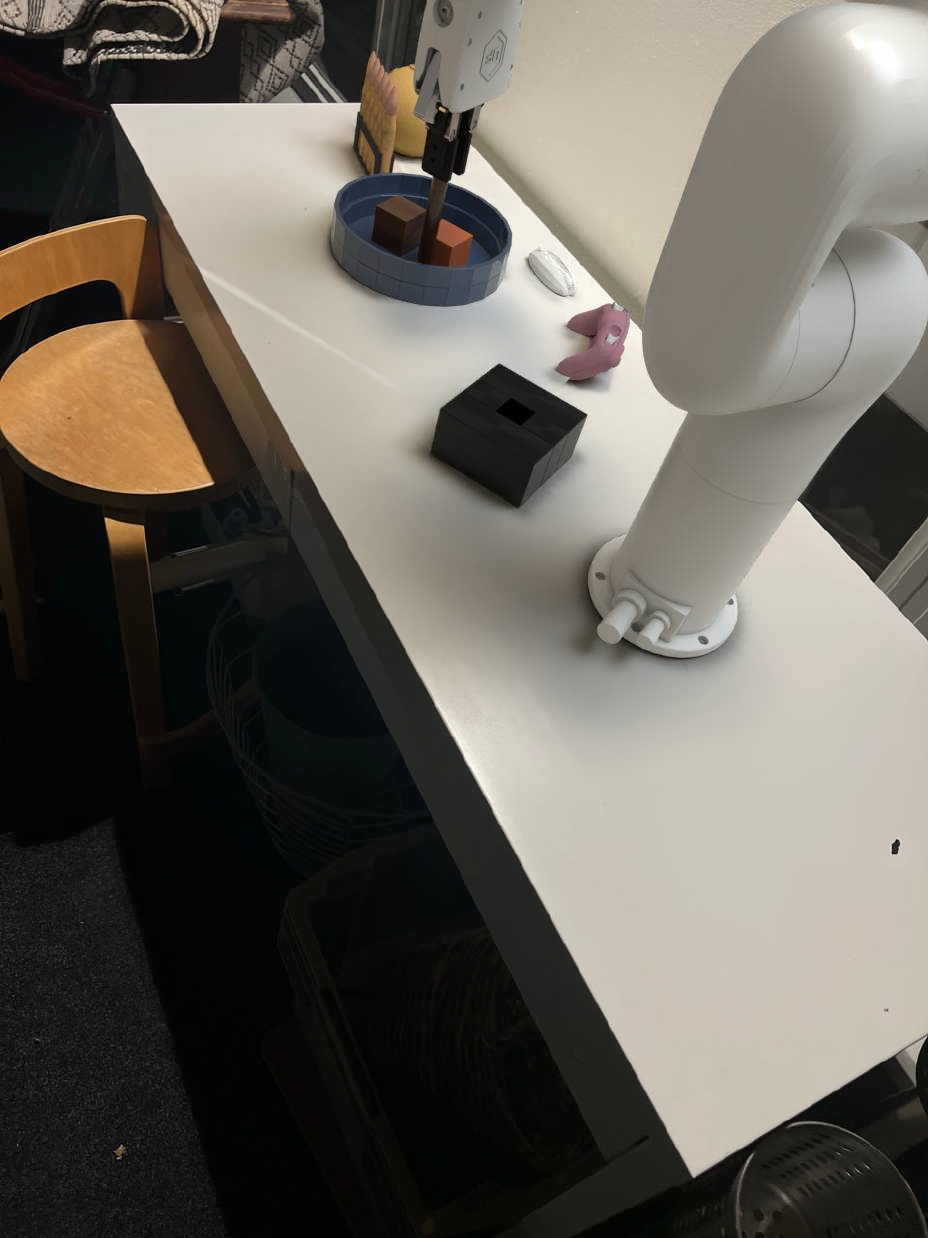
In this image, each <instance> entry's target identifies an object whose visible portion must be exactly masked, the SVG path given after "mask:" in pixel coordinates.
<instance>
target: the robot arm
mask: <svg viewBox="0 0 928 1238" xmlns="http://www.w3.org/2000/svg"><path fill="white" fill-rule="evenodd" d="M524 6H525V0H426V3H425V7H424V13H423V16H422V22H421V27H420V33H419V37H418V42H417V46H416V47H417V48H416V52H415V53H416V54H415V59H414V64H415V67H414V77H413V87H414V91H415V93H416V94H417V95H419V96H418V99H417V102H416V105H415V108H414V116H416V117H417V118H419V119H421V120H423V121H425V128H426V129H427V135H426V141H425V147H424V153H423V156H422V158H421V159H422V160H421V166H420V168H421V170H422V172H424V173H426V174H428V175H429V176H430V177H435V178H437V179H439V180H441V181H443V182H445V183H447V182H449V183H450V181H451V180H452V178H453V174H454V175H456V176H457V177H460V176H463V175H464V174H465V173H466V168H467V163H468V157H469V153H470V150H471V145H472V139H473V135H474V134H473V133H474V132H475V130H476V129H477V127H478V122H479V119H480V114H481V110H482V108H483V107H484V105H485V103H488V102H490V101H492V100H495V99H497V98H499V97H501V96H502V95H503V94H505V93H506V91H507V90H508V89H509V87H510V83H511V80H512V75H513V70H514V66H515V61H516V56H517V49H518V45H519V40H520V33H521V32H520V31H521V28H522V21H523V13H524ZM439 107H441V108H443V109H445V110H447V111H449V112H448V116H446V114H445V112H443V111H441V110H439ZM460 113H462V118H461V123H460V128H459V133H458V138H457V139H456V138H455V136H456V131H457V126H458V120H459V115H460ZM472 132H473V133H472ZM701 138H702V139H701V140H700V144H699V147H698V150H697V153H696V155H695V158H694V161H693V163H692V166H691V169H690V172H689V174H688V178H687V180H686V183H685V186H684V189H683V192H682V194H681V197H680V200H679V203H678V205H677V208H676V211H675V213H674V216H673V219H672V222H671V224H670V227H669V230H668V233H667V235H666V239H665V241H664V244H663V247H662V250H661V253H660V255H659V258H658V261H657V264H656V267H655V270H654V273H653V276H652V278H651V282H650V286H649V288H648V292H647V295H646V296H647V297H646V301H645V305H644V311H643V317H642V326H641V347H642V355H643V359H644V360H643V361H644V365H645V369H646V371H647V375H648V377H649V379H650V380H651V381H650V382H652V385H653V387H654V388H655V389H656V391H657V393H658V394H660V396H661V397H662V398H663V399H664V400H665V401H666V402H668V403H669V404H671V406H674V407H675V408H677V409H679V410H682V411H685V412H687V413H686V415H685V417H684V419H683V421H682V423H681V425H680V426H679V428H678V430H677V432H676V434H675V437H674V439H673V441H672V442H671V444H670V446H669V449H668V451H666V455H665V456H664V459H663V461H662V462H661V465H660V466H659V468H658V471H657V473H656V475H655V477H654V479H653V481H652V483H651V485H650V487H649V489H648V491H647V492H646V495H645V496H644V498H643V500H642V503H641V505H640V507H639V509H638V511H637V513H636V515H635V516H634V518H633V521H632V523H631V525H630V526H629V529H628V531H627V532H626V534H622V535H619V536H617V537H615V538H612V539H610V540H609V541H607V542H606V543H604V544H603V545H602V546H601V547H600V548H599V549H598V551H597V552H596V553H595V555H594V557H593V559H592V561H591V563H590V566H589V569H588V573H587V587H588V592H589V596H590V598H591V601H592V603H593V605H594V607H595V609H596V610H597V612H598V614H599V615H600V616H601V618H602V620H601V621H600V623H598V626H597V628H596V633H597V635H598V637H599V638H600V639H601V641H603V642H604V643H607V644H610V645H615V644H618V642H620V641H621V639H622V638H623V639H625V640H626V641H628V642H630V643H631V644H633V645H635V646H637V647H639V648H640V649H642V650H644V651H648V652H651V653H652V654H653V653H654V654H657V655H662V656H665V657H670V658H680V659H682V658H684V659H685V658H696V657H700V656H704V655H707V654H709V653H711V652H713V651H715V650H717V649H719V648H720V647H721V646H722V645H723V644H724V643H725V642H726V641H727V639H729V638H730V637H729V636H730V635H731V634H732V633H733V631H734V628H735V626H736V624H737V623H738V615H739V608H738V607H739V606H738V600H737V597H736V591H737V590H738V588H739V587H740V586H741V584H742V582H743V581H744V580H745V579H746V576H747V575H748V573H749V572H750V571H751V569H752V568H753V566H754V565H755V564H756V562H757V560H758V559H759V558H760V556H761V554H762V553H763V552H764V550H765V549H766V547H767V546H768V544H769V543H770V541H771V540H772V538H773V537H774V535H775V534H776V532H777V530H778V529H779V528H780V526H781V525H782V523H783V522H784V521H785V519H786V518H787V516H788V515H789V513H790V511H791V510H792V509H793V507H794V506H795V504H796V503H797V502H798V500H799V498H800V497H801V495H802V494H803V493H804V491H805V490H806V489H807V488H808V486H809V484H810V483H811V482H812V480H813V478H814V477H815V476H816V474H817V473H818V471H819V469H820V468H821V467H822V465H823V464H824V463H825V461H826V460H827V458H828V457H829V456H830V454H831V453H832V452H833V450H834V449H835V448H836V446H837V445H838V443H839V442H840V441H841V440H842V439H843V438H844V436H845V435H846V434H847V432H848V431H849V430H850V429H851V428H852V427H853V426H854V425H855V424H856V422H857V421H858V420H859V419H860V418H861V417H862V416H863V415H864V414H865V413H866V412H867V411H868V409H870V407H872V406H873V404H874V403H875V402H876V401H877V400H878V399H879V398H880V397H881V396H882V395H883V394H884V392H885V391H886V390H888V388H890V386H891V385H892V383H893V382H894V381H895V380H896V379H897V377H899V375H900V374H901V373H902V371H903V370H904V369H905V367H906V366H907V365H908V363H909V361H911V359H912V358H913V356H914V354H915V353H916V351H917V350H918V347H919V345H920V343H921V340H922V339H923V336H924V334H925V331H926V328H927V325H928V274H927V273H928V272H927V270H926V268H925V265H924V264H923V262H922V260H921V258H920V257H919V256H918V254H917V253H916V252H915V250H914V249H913V248H912V247H910V245H908V244H907V243H906V242H905V241H904V240H901V239H900V238H899V237H897V236H896V235H893V234H892V233H889V232H886V231H885V230H881V229H878V228H877V229H876V227H883V226H895V225H903V224H904V225H905V224H911V223H912V224H913V223H919V222H925V221H928V0H885V1H884V2H882V3H869V2H855V1H853V2H852V1H851V2H847V1H845V2H843V1H842V2H841V1H840V2H831V3H824V4H820V5H813V6H811V7H808V8H805V9H801V10H799V11H798V12H795V13H793V14H791V15H789V16H788V17H786V18H783V19H782V20H780V21H779V22H778V23H776V24H775V25H773V26H772V27H771V28H770V29H768V31H766V32H765V33H764V34H763V35H762V36H760V38H759V39H758V40H757V41H756V42H754V44H753V46H751V47H750V49H749V50H748V51H747V52H746V54H744V56H743V58H742V59H741V60H740V61H739V63H738V64H737V66H736V67H735V69H734V70H733V71H732V73H731V75H730V76H729V78H728V80H727V81H726V83H725V85H723V88H722V90H721V92H720V94H719V96H718V98H717V101H716V102H715V105H714V108H713V110H712V113H711V115H710V118H709V120H708V123H707V125H706V128H705V130H704V133H703V136H702V137H701ZM874 227H875V228H874Z"/></svg>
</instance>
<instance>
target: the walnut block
mask: <svg viewBox="0 0 928 1238" xmlns="http://www.w3.org/2000/svg"><path fill="white" fill-rule="evenodd" d="M425 214H426V209H424V208H422V207H420V206H418V205H417V204H415V203H413V202H411V201H409V200H408V199H406V198H404V197H402V196H400V195H396V196H394V197H392V198H390V199H388V200H386V201H384V202H382V203H380V204H378V205H376V210H375V218H374V225H373V232H372V241H374V242H375V243H377V244H379V245H381V246H383V247H384V248H386V249H388V250H390V251H391V252H393V253H395V254H397V255H398V256H402V255H404V254H406V253H408V252H410V251H411V250H413V249H415V248H417V247H418V246H419V243H420V237H421V232H422V230H423V225H424V219H425Z"/></svg>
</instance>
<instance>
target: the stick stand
mask: <svg viewBox="0 0 928 1238" xmlns="http://www.w3.org/2000/svg"><path fill="white" fill-rule="evenodd" d="M588 416H589V414H588V413H586V412H585V411H583V410H581V409H579V408H577V407H576V406H574V405H572V404H570V403H569V402H568V401H566V400H564V399H562V398H560V397H559V396H557V395H555V394H554V393H552V392H550V391H548V390H547V389H545V388H543V387H541V386H540V385H538V384H537V383H535V382H533V381H531V380H529V379H528V378H526V377H524V376H523V375H522V374H519V373H517V372H516V371H514V370H512V369H511V368H508V367H507V366H505V365H504V364H501V363H500V362H498V363H497V364H496V365H495V366H493V367H492V368H491V369H489V370H488V371H487V372H485V373H484V374H483V375H481V376H480V377H479V378H477V379H476V380H475V381H474V382H472V383H471V384H470V385H468V386H467V387H466V388H464V389H463V390H462V391H461V392H459V393H458V394H456V396H454V397H453V398H452V399H451V400H449V401H448V402H447V403H445V404H444V405H443V406H441V407H440V408H439V412H438V416H437V421H436V424H435V430H434V434H433V438H432V442H431V447H430V450H429V453H430V454H431V455H432V456H435V458H438V459H439V460H440V461H442V462H444V463H445V464H447V465H449V466H450V467H452V468H454V469H456V470H457V471H458V472H460V473H462V474H463V475H465V476H466V477H468V478H470V479H471V480H473V481H475V482H476V483H478V484H480V485H481V486H483V487H484V488H486V489H488V490H489V491H491V492H493V493H494V494H496V495H497V496H499V497H500V498H502V499H504V500H506V501H507V502H509V503H510V504H512V505H513V506H515V507H516V508H518V509H519V508H521V507H522V506H523V505H524V504H525V503H526V502H527V501H528V500H529V499H530V498H531V497H532V496H533V495H534V494H535V493H536V492H537V491H538V490H539V489H540V488H541V487H542V486H544V484H545V483H547V482H548V481H549V480H550V478H551V477H553V476H554V475H555V474H556V473H557V471H559V469H561V468H562V467H563V466H564V465H565V464H566V463H567V462H568V461H569V460H570V459H571V458H572V457H573V454H574V452H575V449H576V446H577V444H578V441H579V439H580V436H581V433H582V431H583V428H584V427H585V426H584V425H585V423H586V420H587V419H588Z"/></svg>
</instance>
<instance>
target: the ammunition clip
mask: <svg viewBox="0 0 928 1238" xmlns="http://www.w3.org/2000/svg"><path fill="white" fill-rule="evenodd" d="M363 83H364V84H363V86H362V90H361V96H360V106H359V110H358V111H357V114H356V121H355V122H356V123H355V128H354V129H355V131H354V136H353V137H354V138H353V146H352V148H353V150H354V152H355V154H356V156H357V159H358V160H359V162H360V164H361V166H362V169H363V171H364V173H365V174H366V176H367V175H372V174H377V173H394V172H393V171H394V166H395V165H394V164H395V157H396V154H395V153H396V152H395V151H393V148H394V141H395V133H396V112H397V90H396V87H395V86H394V87H393V84H392V80H391V79H388V72H387V71H385V68H384V65H383V64H381V62H380V58H379V57H377V55H376V51H375V50H372V52H371V53H370V56H369V58H368V62H367V65H366V71H365V77H364V82H363Z"/></svg>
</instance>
